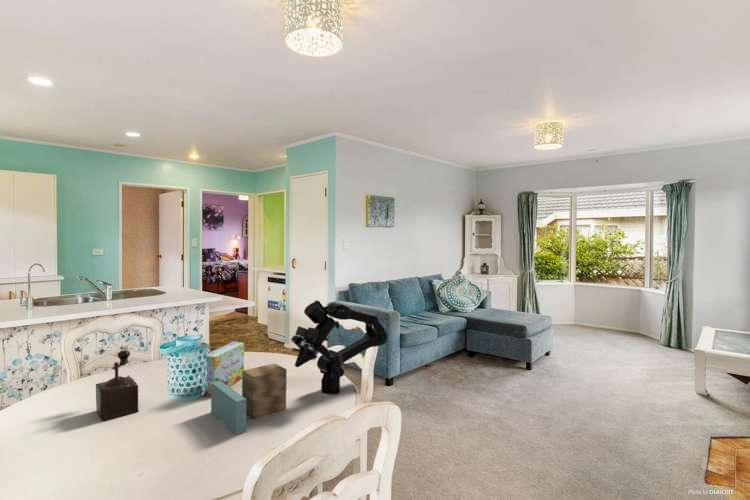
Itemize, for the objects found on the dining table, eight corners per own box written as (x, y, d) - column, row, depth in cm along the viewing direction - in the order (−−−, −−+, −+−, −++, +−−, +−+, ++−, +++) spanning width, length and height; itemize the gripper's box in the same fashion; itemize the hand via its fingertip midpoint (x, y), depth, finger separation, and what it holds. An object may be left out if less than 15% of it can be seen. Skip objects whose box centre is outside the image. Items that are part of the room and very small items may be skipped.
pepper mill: (141, 411, 135) (141, 358, 135) (101, 421, 128) (101, 365, 127) (129, 397, 146) (129, 347, 146) (92, 406, 139) (91, 353, 138)
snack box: (214, 397, 148) (214, 356, 147) (200, 396, 149) (200, 355, 148) (244, 378, 169) (244, 341, 168) (232, 376, 170) (232, 340, 169)
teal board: (220, 409, 138) (220, 380, 138) (246, 431, 123) (246, 399, 123) (211, 412, 136) (211, 382, 136) (236, 434, 121) (236, 401, 121)
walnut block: (274, 402, 145) (274, 363, 144) (285, 409, 139) (286, 369, 138) (241, 411, 137) (242, 370, 136) (252, 420, 131) (253, 377, 130)
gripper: (295, 313, 155) (268, 347, 148) (324, 322, 142) (296, 360, 135) (312, 331, 161) (287, 364, 154) (341, 341, 147) (315, 378, 140)
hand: (295, 366), depth 146 cm, fingers closed
